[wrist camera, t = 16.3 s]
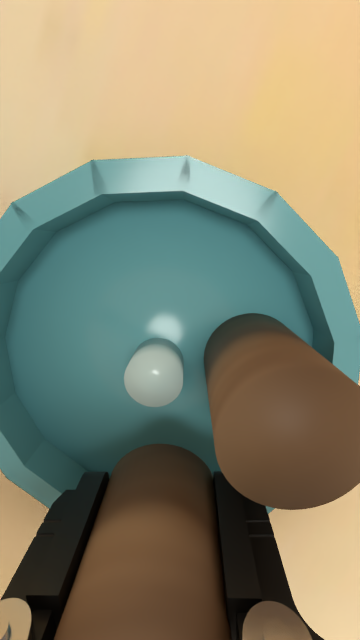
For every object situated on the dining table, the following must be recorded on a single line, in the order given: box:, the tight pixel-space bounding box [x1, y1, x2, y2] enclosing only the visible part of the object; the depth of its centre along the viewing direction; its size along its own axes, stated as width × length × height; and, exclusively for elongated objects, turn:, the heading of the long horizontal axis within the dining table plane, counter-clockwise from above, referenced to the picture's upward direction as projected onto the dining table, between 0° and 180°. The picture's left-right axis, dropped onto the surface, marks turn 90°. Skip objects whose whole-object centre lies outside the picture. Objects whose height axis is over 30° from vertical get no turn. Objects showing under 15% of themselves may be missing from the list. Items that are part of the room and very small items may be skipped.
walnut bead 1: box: [54, 444, 232, 640], centre depth 7 cm, size 4×4×5 cm
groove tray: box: [0, 155, 360, 513], centre depth 11 cm, size 14×14×2 cm
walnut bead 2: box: [204, 313, 360, 510], centre depth 9 cm, size 4×4×5 cm
